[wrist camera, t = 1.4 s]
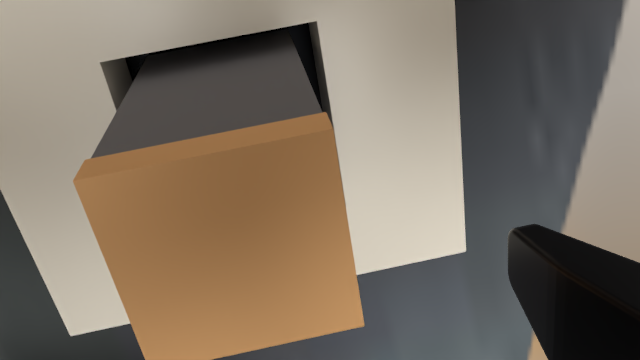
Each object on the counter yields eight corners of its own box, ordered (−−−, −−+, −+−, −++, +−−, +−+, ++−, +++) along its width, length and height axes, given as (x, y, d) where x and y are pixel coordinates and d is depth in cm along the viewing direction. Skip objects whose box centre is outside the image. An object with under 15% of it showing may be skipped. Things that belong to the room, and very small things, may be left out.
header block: (89, 284, 19) (63, 355, 16) (-47, -30, 14) (-120, -12, 11) (439, 211, 19) (476, 266, 16) (417, -114, 15) (462, -117, 12)
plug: (184, 182, 18) (150, 372, 11) (144, 54, 16) (72, 180, 9) (312, 156, 18) (364, 326, 11) (289, 26, 16) (333, 128, 9)
